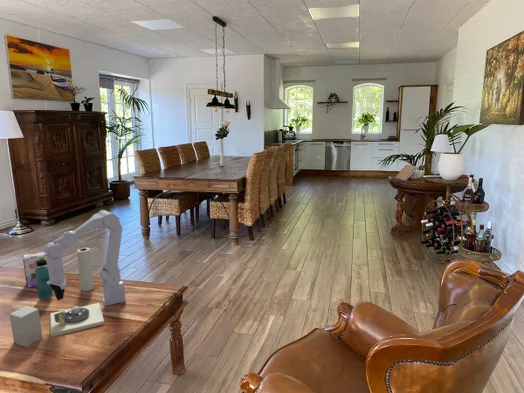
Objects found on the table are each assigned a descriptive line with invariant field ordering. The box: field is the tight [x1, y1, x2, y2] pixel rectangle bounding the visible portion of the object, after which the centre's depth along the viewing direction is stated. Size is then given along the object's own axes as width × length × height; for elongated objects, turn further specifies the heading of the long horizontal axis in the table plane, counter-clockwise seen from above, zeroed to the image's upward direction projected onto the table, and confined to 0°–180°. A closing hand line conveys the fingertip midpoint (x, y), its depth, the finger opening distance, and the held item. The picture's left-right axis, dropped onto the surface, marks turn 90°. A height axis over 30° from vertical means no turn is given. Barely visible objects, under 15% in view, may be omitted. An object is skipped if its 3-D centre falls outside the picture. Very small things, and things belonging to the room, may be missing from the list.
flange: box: [54, 308, 89, 323], centre depth 163 cm, size 14×10×4 cm
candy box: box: [22, 251, 48, 289], centre depth 199 cm, size 14×6×16 cm, turn 117°
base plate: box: [50, 302, 105, 338], centre depth 165 cm, size 20×18×6 cm
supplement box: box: [9, 305, 43, 348], centre depth 150 cm, size 7×7×13 cm
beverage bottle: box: [35, 260, 54, 300], centre depth 182 cm, size 6×7×20 cm
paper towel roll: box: [76, 246, 95, 292], centre depth 193 cm, size 7×6×21 cm
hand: (60, 299), depth 165 cm, fingers closed
